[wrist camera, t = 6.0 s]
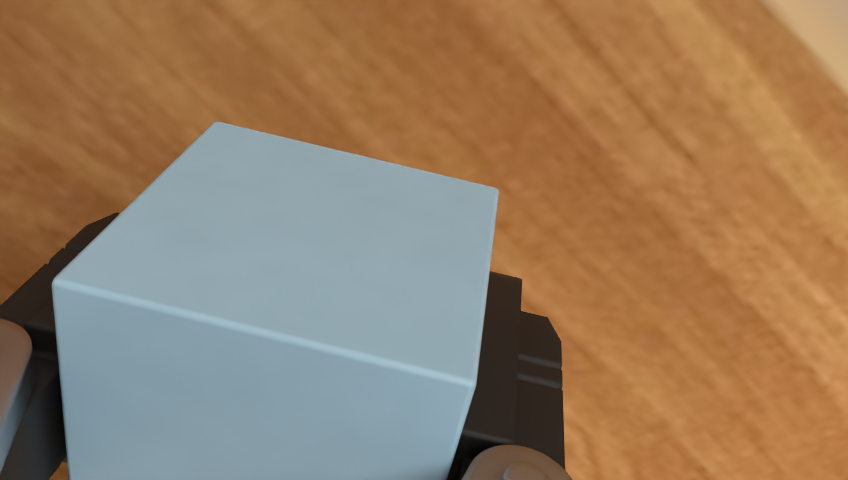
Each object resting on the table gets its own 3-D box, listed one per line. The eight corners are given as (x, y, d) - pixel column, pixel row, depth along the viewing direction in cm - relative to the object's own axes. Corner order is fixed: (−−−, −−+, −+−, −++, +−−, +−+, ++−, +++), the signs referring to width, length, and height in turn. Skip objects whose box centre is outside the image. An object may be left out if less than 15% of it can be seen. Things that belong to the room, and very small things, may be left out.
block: (203, 341, 13) (72, 550, 10) (214, 118, 11) (47, 279, 7) (440, 399, 13) (400, 632, 10) (500, 186, 11) (476, 384, 7)
